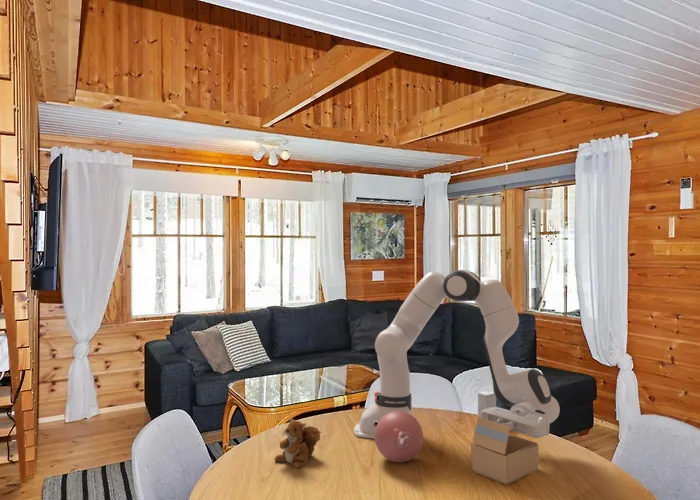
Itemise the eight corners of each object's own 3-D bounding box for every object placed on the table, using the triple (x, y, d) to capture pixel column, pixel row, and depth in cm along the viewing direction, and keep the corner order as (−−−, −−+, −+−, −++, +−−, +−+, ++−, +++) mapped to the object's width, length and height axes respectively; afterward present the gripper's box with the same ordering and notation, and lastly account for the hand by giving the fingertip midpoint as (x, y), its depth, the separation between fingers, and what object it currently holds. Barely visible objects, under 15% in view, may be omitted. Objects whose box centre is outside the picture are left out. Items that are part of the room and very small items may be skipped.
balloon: (374, 477, 148) (373, 424, 149) (375, 450, 168) (374, 404, 168) (426, 478, 147) (426, 425, 147) (421, 451, 167) (421, 405, 167)
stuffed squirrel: (272, 462, 160) (271, 420, 160) (304, 449, 170) (304, 410, 170) (292, 471, 153) (292, 427, 153) (325, 457, 163) (325, 416, 164)
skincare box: (486, 427, 190) (486, 395, 190) (477, 424, 194) (477, 392, 194) (497, 424, 193) (497, 392, 193) (488, 421, 197) (488, 390, 197)
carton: (503, 456, 162) (503, 431, 163) (540, 470, 152) (540, 443, 152) (470, 470, 152) (470, 444, 152) (508, 486, 142) (507, 457, 142)
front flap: (479, 417, 153) (477, 416, 153) (510, 426, 145) (509, 426, 144) (473, 443, 152) (472, 443, 151) (505, 454, 143) (503, 454, 143)
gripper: (496, 400, 167) (469, 408, 158) (553, 415, 151) (527, 425, 142) (496, 419, 167) (469, 428, 158) (553, 436, 151) (527, 447, 142)
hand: (497, 427), depth 150 cm, fingers closed
